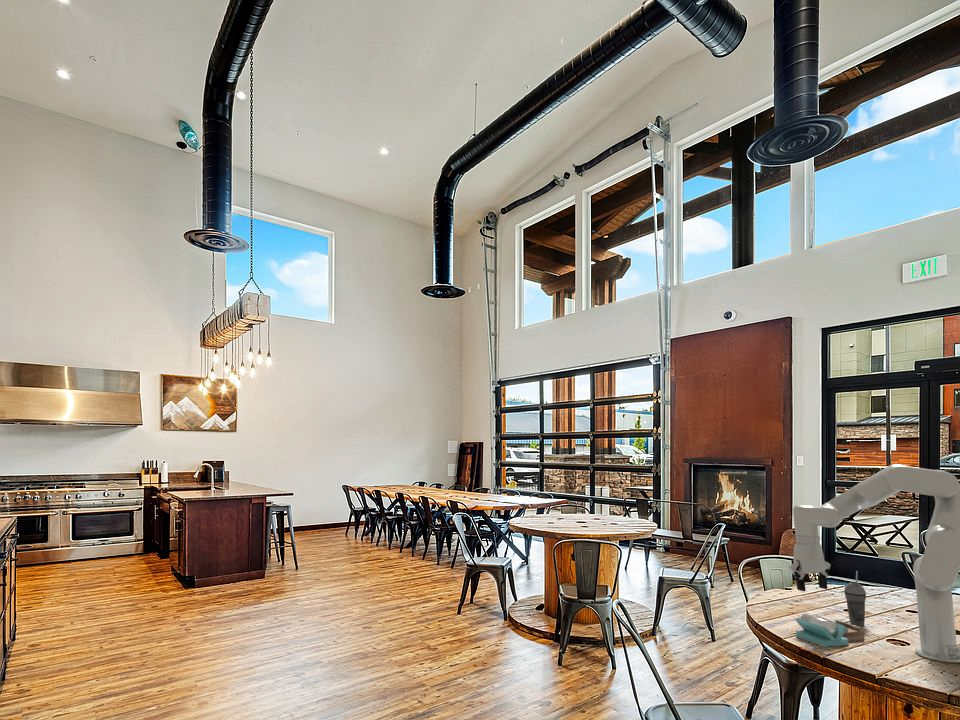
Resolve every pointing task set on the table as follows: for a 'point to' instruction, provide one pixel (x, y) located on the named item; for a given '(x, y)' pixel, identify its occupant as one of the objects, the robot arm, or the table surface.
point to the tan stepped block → (851, 631)
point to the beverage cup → (855, 602)
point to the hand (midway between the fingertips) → (812, 589)
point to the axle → (822, 623)
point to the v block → (821, 634)
